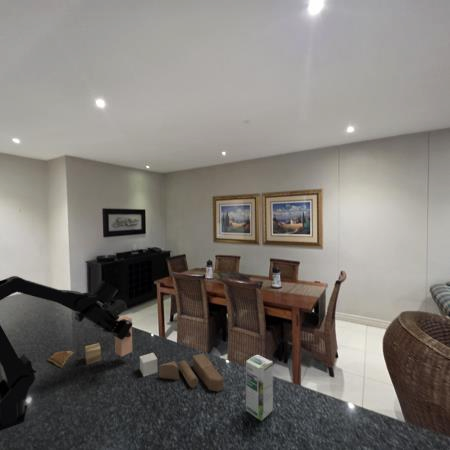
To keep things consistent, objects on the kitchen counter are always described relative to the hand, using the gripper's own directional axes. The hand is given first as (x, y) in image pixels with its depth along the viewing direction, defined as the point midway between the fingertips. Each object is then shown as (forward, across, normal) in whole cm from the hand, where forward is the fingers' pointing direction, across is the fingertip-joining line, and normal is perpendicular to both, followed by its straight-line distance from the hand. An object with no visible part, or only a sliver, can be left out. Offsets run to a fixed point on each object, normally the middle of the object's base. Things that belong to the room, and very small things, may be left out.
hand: (126, 334), depth 98 cm
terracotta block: (+4, 0, +6) cm, 7 cm away
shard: (-2, +22, +18) cm, 29 cm away
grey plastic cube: (+8, -13, +7) cm, 17 cm away
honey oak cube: (+2, +12, +13) cm, 18 cm away
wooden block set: (+11, -30, +4) cm, 32 cm away
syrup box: (+13, -55, +2) cm, 56 cm away
